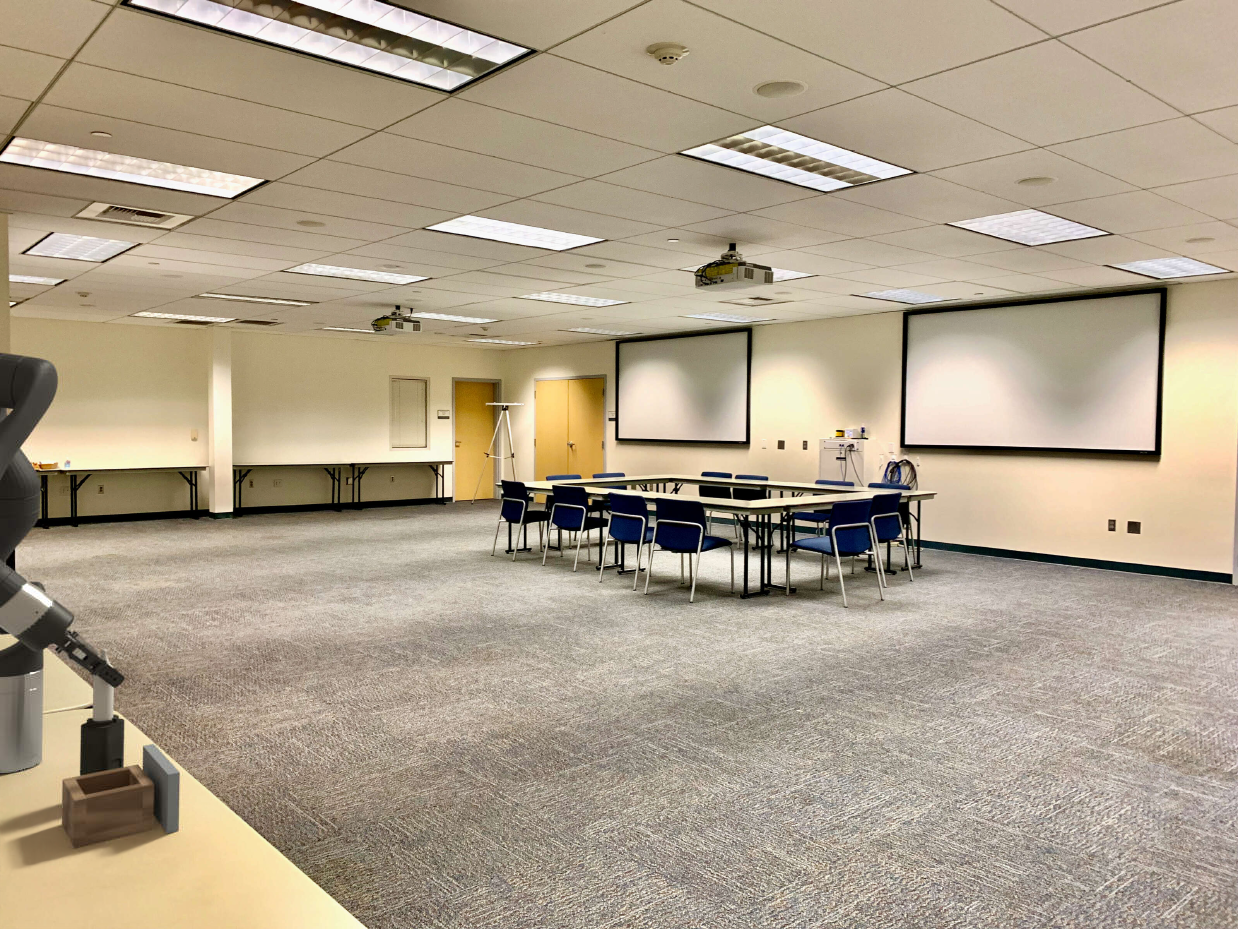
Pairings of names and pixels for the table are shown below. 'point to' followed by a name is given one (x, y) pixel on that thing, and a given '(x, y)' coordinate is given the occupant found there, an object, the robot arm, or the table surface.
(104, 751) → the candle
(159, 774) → the backstop wall
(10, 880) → the table surface
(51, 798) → the table surface
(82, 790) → the socket block
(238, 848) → the table surface
